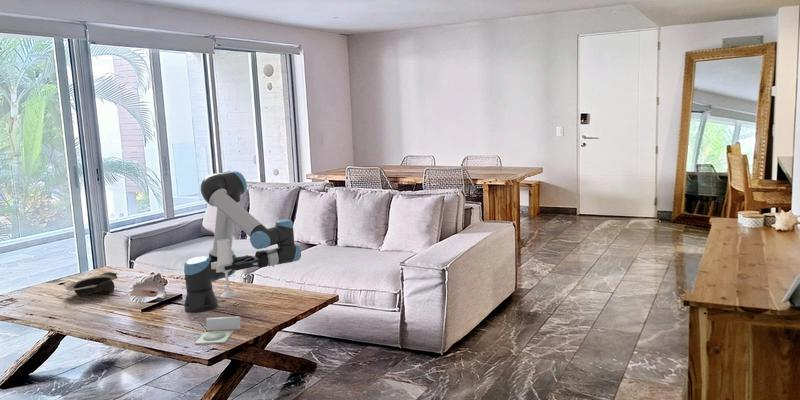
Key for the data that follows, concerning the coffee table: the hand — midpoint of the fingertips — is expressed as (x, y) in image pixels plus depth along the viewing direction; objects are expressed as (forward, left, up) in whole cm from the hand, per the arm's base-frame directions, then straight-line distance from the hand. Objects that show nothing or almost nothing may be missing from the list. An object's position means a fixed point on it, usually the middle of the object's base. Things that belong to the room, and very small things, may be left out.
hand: (213, 267), depth 256 cm
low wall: (+3, -3, -26) cm, 26 cm away
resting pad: (+2, -13, -26) cm, 29 cm away
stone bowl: (-85, +62, -26) cm, 109 cm away
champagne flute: (+4, +3, -13) cm, 14 cm away
